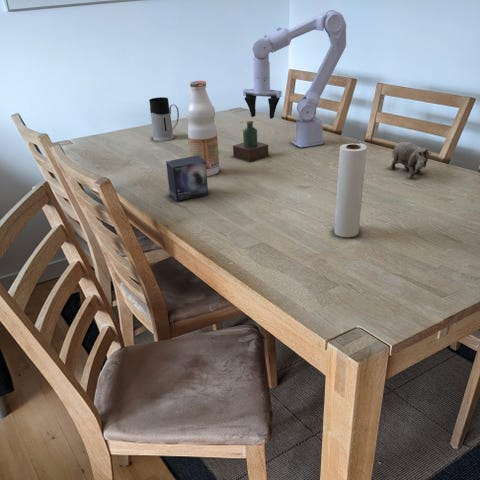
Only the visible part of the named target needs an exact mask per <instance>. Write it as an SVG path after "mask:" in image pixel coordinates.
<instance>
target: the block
mask: <svg viewBox="0 0 480 480" xmlns="http://www.w3.org/2000/svg"><path fill="white" fill-rule="evenodd" d="M257 142H258V145H257V146H255V147H245V146H244V143H243V142H240V143H237V144H234V145H232V152H233V154H232V155H233V157H234V158H236V159H239V160H243V161H245V162H249V163H251V162H254V161H257V160H261V159H263V158H267V157H269V144H267V143H264V142H259V141H257Z"/></svg>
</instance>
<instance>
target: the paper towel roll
mask: <svg viewBox="0 0 480 480" xmlns="http://www.w3.org/2000/svg"><path fill="white" fill-rule="evenodd" d="M367 149H368V148H367V145H366V144H364V143H363V142H360V143H345V144H342V145H340V146H339V157H338V171H337V183H336V184H337V185H336V200H335V201H336V202H335V217H334V229H333V230H334V231H333V232H334V234H335V235H336V236H337V237H341V238H353V237H356V236H357V235H359V232H360V221H361V212H362V202H363V191H364V180H365V172H366V171H365V170H366V160H367Z"/></svg>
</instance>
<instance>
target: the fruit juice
mask: <svg viewBox="0 0 480 480" xmlns="http://www.w3.org/2000/svg"><path fill="white" fill-rule="evenodd" d="M189 86H190V89H191V92H190V97H189V101H188V105H187V107H186V110H185V111H186V112H185V113H186V114H185V115H186V118H187V121H188V125H187V138H188V146H189V157H192V156H197V155H198V156H199V157H201V158H202V159H204V160H205V161H206V170H207V177H210V176H215V175H217V174H218V173H219V172H220V158H219V157H220V155H219V142H218V129H217V124H216V122H215V117H216V110H215V109H216V108H215V107H214V105H213V103H212V101H211V99H210V97H209V94H208V92H207V89H206V88H207V82H206V81H205V80H193V81H190V83H189Z"/></svg>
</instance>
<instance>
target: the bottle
mask: <svg viewBox="0 0 480 480" xmlns="http://www.w3.org/2000/svg"><path fill="white" fill-rule="evenodd" d="M245 123H246V127H245V128H244V129H243V130H242V139H243V140H242V141H243V142H242V143H244V146H245V147H255V146H257V145H258V142H259V141H258V129H257V128H256V127H255V126H254V121H253V120H247V121H246V122H245Z"/></svg>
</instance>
